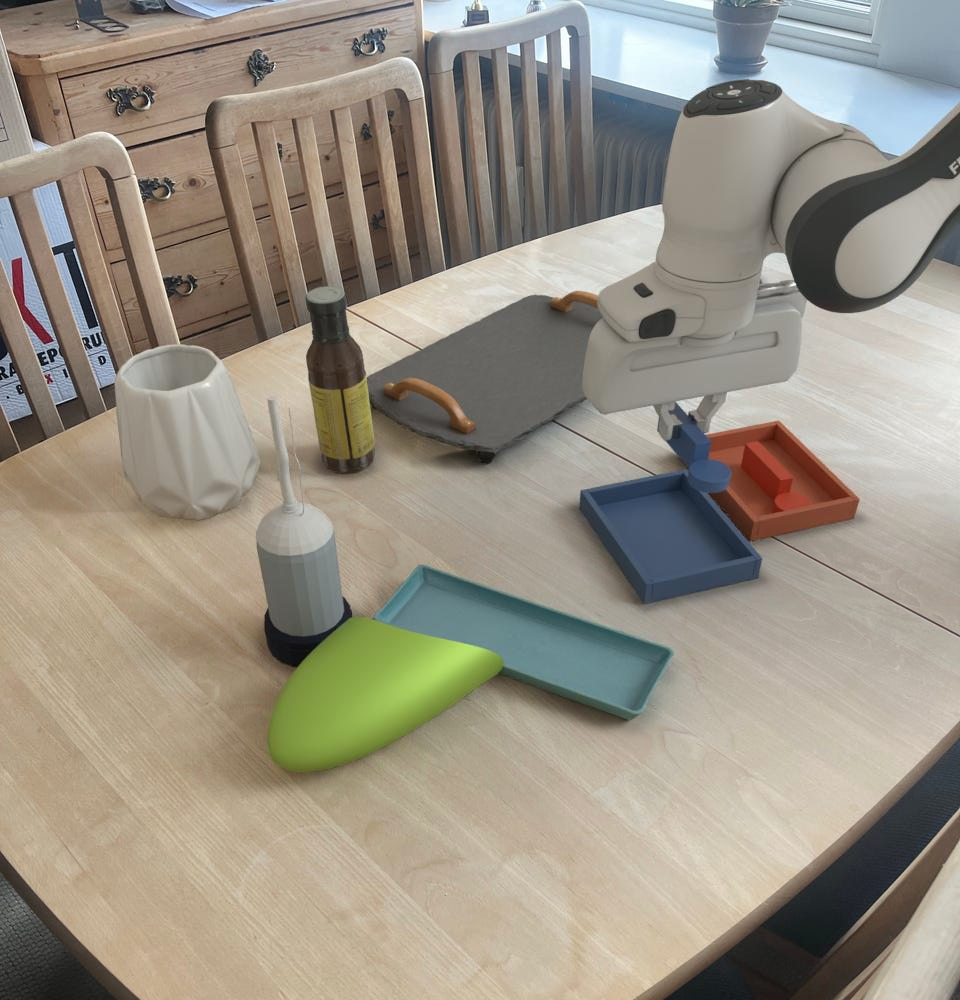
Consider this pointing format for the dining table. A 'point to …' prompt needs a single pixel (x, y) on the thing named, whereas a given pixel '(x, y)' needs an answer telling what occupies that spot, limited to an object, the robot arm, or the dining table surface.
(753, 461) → the red bar with disc
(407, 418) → the serving tray
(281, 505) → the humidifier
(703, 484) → the spoon blue
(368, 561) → the dining table surface
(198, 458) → the vase
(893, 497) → the dining table surface
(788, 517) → the tray red
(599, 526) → the tray blue
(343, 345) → the sauce bottle
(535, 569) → the dining table surface
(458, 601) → the shallow long dish
